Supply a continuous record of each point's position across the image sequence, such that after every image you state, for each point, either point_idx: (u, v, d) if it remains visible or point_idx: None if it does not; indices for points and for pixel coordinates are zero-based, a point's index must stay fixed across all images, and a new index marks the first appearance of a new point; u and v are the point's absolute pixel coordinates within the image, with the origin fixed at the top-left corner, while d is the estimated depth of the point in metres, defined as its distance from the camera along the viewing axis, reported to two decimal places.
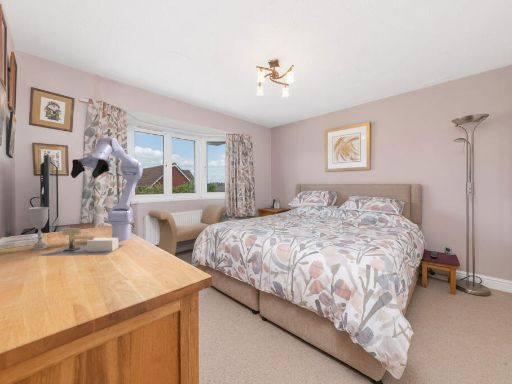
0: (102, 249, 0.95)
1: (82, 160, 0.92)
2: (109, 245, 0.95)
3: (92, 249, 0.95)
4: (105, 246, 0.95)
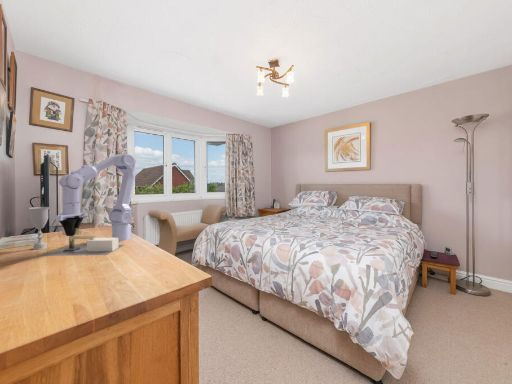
0: (102, 249, 0.95)
1: None
2: (109, 245, 0.95)
3: (92, 249, 0.95)
4: (105, 246, 0.95)
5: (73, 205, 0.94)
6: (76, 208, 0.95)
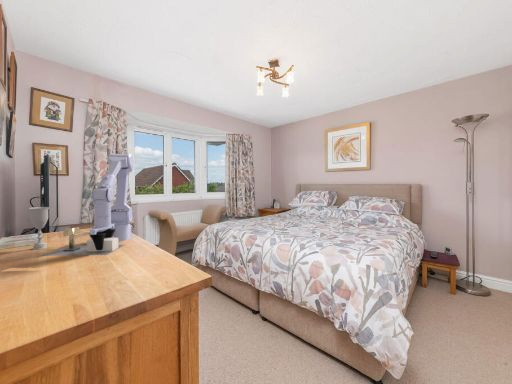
0: (102, 249, 0.95)
1: None
2: (109, 245, 0.95)
3: (92, 249, 0.95)
4: (105, 246, 0.95)
5: (105, 218, 0.96)
6: (107, 222, 0.96)
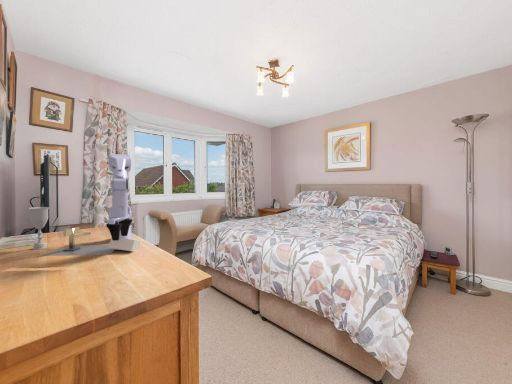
0: (122, 248, 0.94)
1: None
2: (130, 245, 0.94)
3: (113, 246, 0.94)
4: (126, 245, 0.94)
5: (123, 208, 0.96)
6: (125, 212, 0.97)
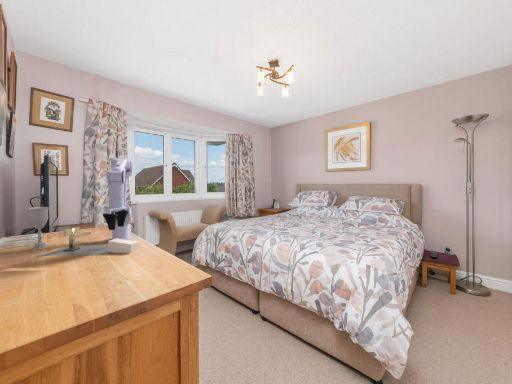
0: (121, 252, 0.93)
1: None
2: (128, 249, 0.93)
3: (112, 250, 0.94)
4: (124, 249, 0.93)
5: (119, 199, 1.00)
6: (121, 203, 1.00)
